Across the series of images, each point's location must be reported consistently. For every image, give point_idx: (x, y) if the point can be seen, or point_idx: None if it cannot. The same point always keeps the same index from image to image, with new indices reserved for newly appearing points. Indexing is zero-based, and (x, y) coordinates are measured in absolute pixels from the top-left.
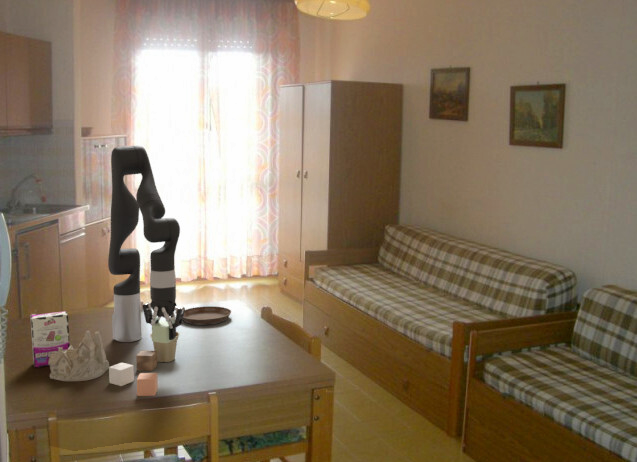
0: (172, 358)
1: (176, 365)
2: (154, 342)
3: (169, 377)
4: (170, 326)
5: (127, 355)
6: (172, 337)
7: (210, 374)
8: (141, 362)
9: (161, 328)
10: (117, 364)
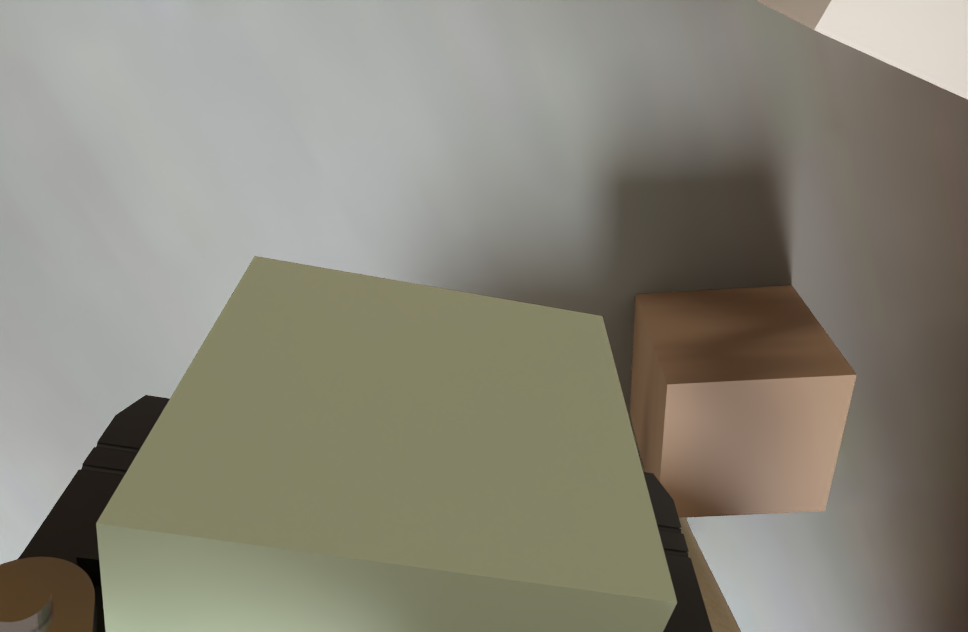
0: None
1: None
2: (723, 629)
3: (393, 168)
4: (13, 607)
5: (949, 559)
6: (149, 410)
7: (48, 310)
8: (766, 331)
9: (315, 506)
10: None
